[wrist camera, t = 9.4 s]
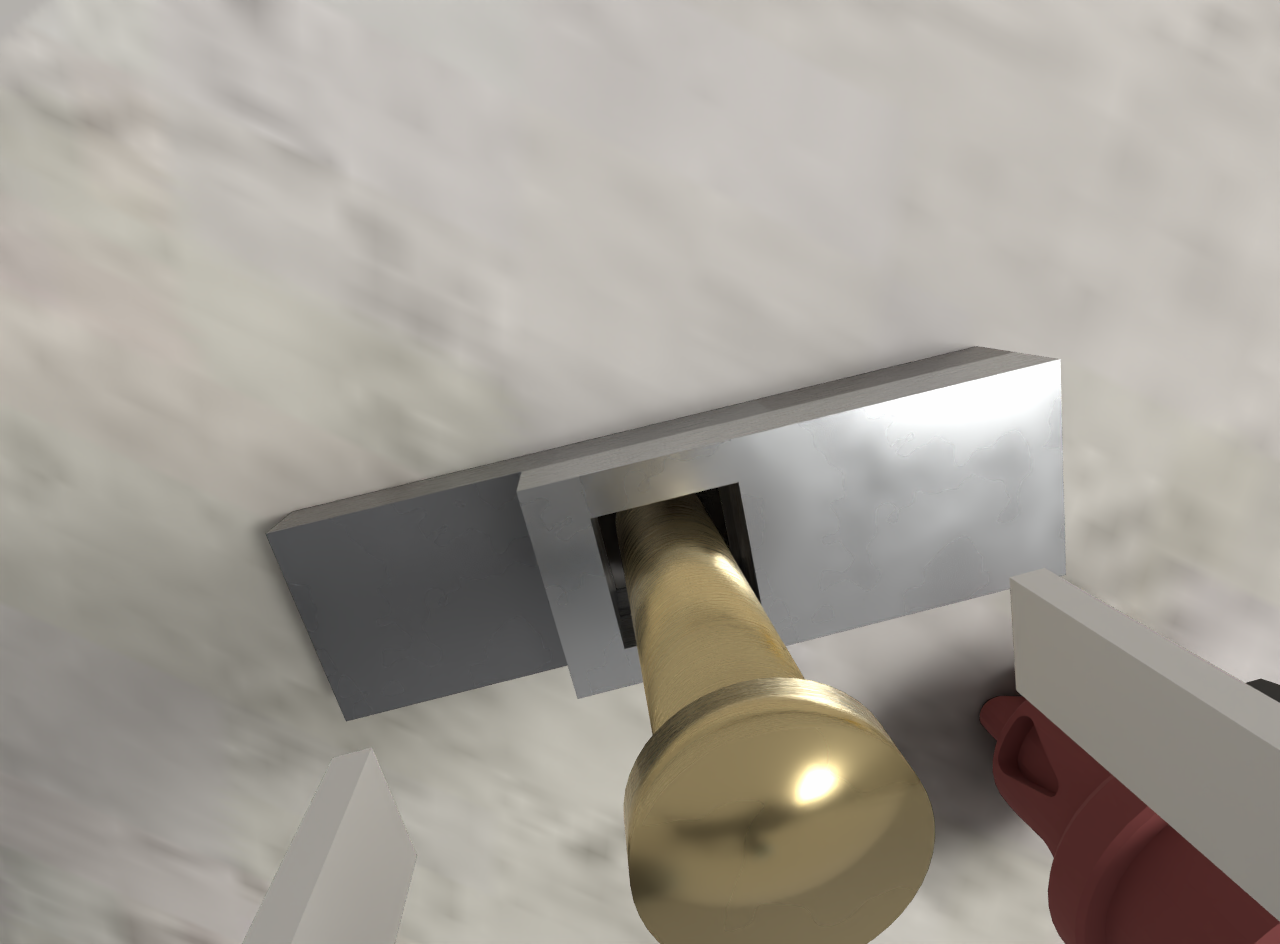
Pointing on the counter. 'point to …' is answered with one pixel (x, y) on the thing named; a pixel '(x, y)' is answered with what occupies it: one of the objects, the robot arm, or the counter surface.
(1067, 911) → the mechanical component
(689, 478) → the plate with square socket
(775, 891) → the brass knob
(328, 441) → the counter surface
